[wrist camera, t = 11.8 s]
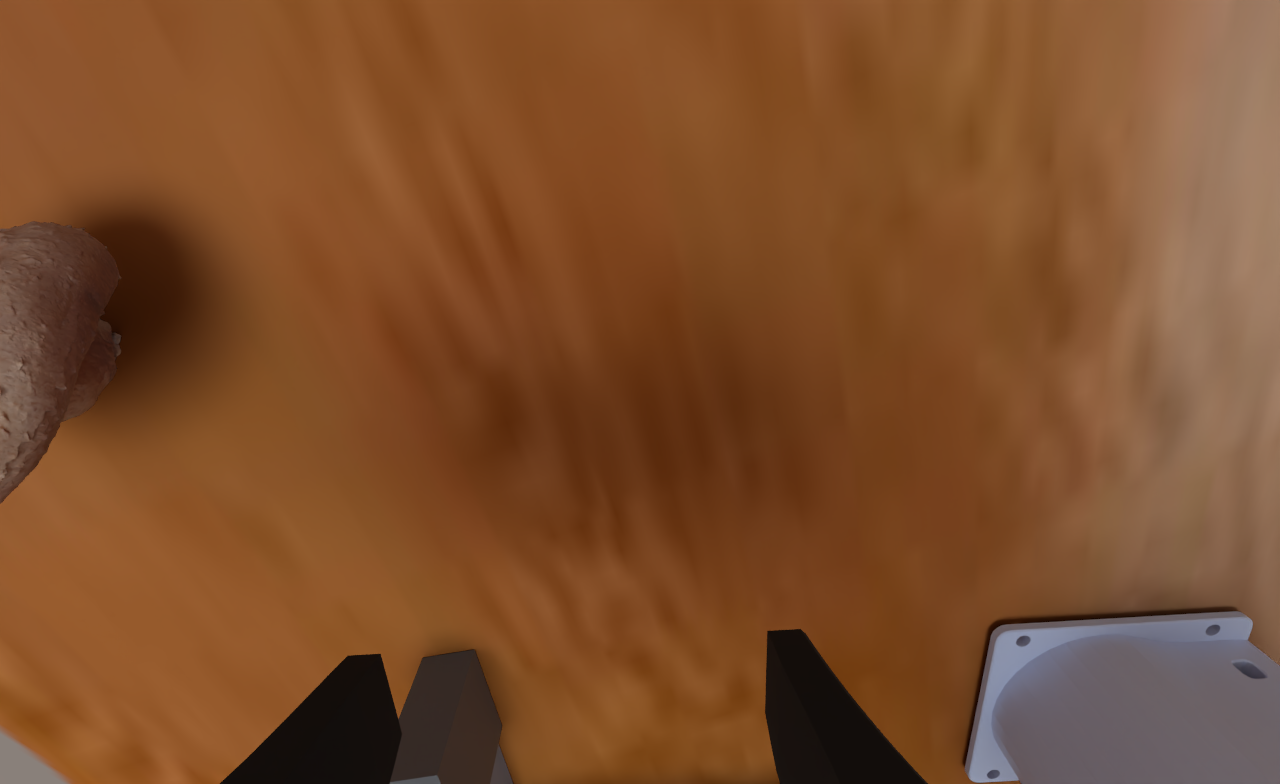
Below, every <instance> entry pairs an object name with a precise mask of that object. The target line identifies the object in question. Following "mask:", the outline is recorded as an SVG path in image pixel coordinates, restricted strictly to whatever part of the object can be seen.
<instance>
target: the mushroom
mask: <svg viewBox="0 0 1280 784" xmlns="http://www.w3.org/2000/svg"><path fill="white" fill-rule="evenodd" d="M84 230H85V228H72V226H71V225H68V226H61V225H59V224H55V223H52V222H51V223H45V222H44V223H40V222H35V221H33V222H30V223H27V224H24V225H22V226H18V227H17V226H15V227H12V228H10V229H0V503H2V502H3V501H4V499H5V498H6V497H7V496H8V495H9V494H10V493H11V492H12V491H13V490H14V489H15V488H17V487H18V485H19V484H20V483H21V482H22V481H23V480H24V479H25V477H26V476H27V475H29V473H30V472H31V471H32V470H33V469H34V468H35V467H36V466H37V465H38V463H39V461H40V460H41V458H42V456H43V455H44V454H45V453H46V452H47V450H48V447H49V444H50V443H51V441H52V439H53V438H54V437H55V435H56V433H57V430H58V429H59V427H60V423H61V422H62V421H66V420H68V419H70V418H73V417H77V416H79V415H81V414H82V413H84V412H85V411H87V410H89V409H90V408H91V407H92V406H93V405H94V404H95V402H96V401H97V399H98V396H99V395H100V393H101V392H102V390H103V389H104V388H105V386H106V385H107V384H108V383H109V382H110V381H111V380H112V379H113V377H114V375H115V373H116V371H117V370H116V369H117V367H116V364H115V360H116V358H117V356H118V355H120V354H121V349H120V346H119V345H118V344H119V342H120V339H121V335H119V334H117V333H116V332H113V333H112V331H111V326H110V324H109V323H108V322H105V321H103V320H101V319H99V318H100V316H101V315H104V314H105V312H104V309H105V307H106V305H107V303H108V302H109V300H110V298H111V296H112V294H113V293H114V290H115V288H116V287H117V286H118V280H119V279H122V278H121V277H120V274H119V271H118V268H117V266H116V261H115V260H114V258H113V257H112V255H111V254H110V253H109V252H108V250H107V249H106V248H107V246H104V245H103V244H102V243H100V242H99V241H98V240H97V239H96V238H94V237H92V236H91V235H90V233H86V232H85V231H84Z"/></svg>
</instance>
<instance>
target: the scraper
mask: <svg viewBox="0 0 1280 784" xmlns="http://www.w3.org/2000/svg"><path fill="white" fill-rule="evenodd" d="M399 724H400V728H401V732H402V737H401V741H400V745H399V749H398V753H397V757H396V761H395V765H394V769H393V773H392V776H391V780H390V784H513V782H512V779H511V776H510V774H509V771H508V768H507V766H506V763H505V760H504V757H503V755H502V752H501V749H500V747H499V739H500V734H501V730H502V724H501V721H500V719H499V716H498V713H497V710H496V708H495V705H494V702H493V699H492V696H491V694H490V691H489V688H488V685H487V683H486V680H485V677H484V674H483V672H482V669H481V666H480V663H479V661H478V658H477V655H476V652H475V650H469V651H462V652H456V653H450V654H444V655H437V656H431V657H425V658H422V661H421V664H420V666H419V669H418V671H417V674H416V676H415V679H414V681H413V684H412V686H411V689H410V692H409V694H408V697H407V699H406V702H405V704H404V707H403V709H402V712H401V715H400V717H399Z"/></svg>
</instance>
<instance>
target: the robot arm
mask: <svg viewBox="0 0 1280 784" xmlns="http://www.w3.org/2000/svg"><path fill="white" fill-rule="evenodd" d="M1252 627H1253V622H1252V620H1251V619H1250V618H1249V617H1247V616H1246V615H1245V614H1243V613H1242V612H1238V611H1230V612H1213V613H1196V614H1179V615H1161V616H1144V617H1127V618H1110V619H1092V620H1075V621H1058V622H1041V623H1023V624H1006V625H1001V626H999V627H997V628H996V629H995V630H994V631H993V633H992V635H991V638H990V643H989V649H988V654H987V659H986V664H985V669H984V674H983V679H982V684H981V689H980V694H979V699H978V704H977V709H976V714H975V719H974V724H973V729H972V734H971V739H970V744H969V749H968V754H967V759H966V764H965V772H966V774H967V775H968V777H969V779H970V780H971V781H973V782H978V783H982V782H999V781H1016V780H1019V781H1020V782H1021V784H1280V666H1279V665H1278V664H1277V663H1275V662H1274V661H1273V660H1272V659H1270V658H1269V657H1268V656H1267V655H1265V654H1264V653H1263V652H1262V651H1260V650H1259V649H1258V648H1257V647H1255V646H1254V645H1253V644H1252V643H1250V642H1249V641H1248V638H1249V635H1250V633H1251V630H1252ZM1021 636H1022V637H1021ZM1019 637H1020V638H1019ZM765 714H766V719H767V725H768V730H769V735H770V740H771V746H772V751H773V756H774V761H775V766H776V771H777V774H778V778H779V781H780V784H928V783H927V782H926V781H925V780H924V779H923V778H922V777H921V776H920V775H919V774H918V773H917V772H916V771H915V770H914V769H913V767H912V766H911V765H910V764H909V763H908V762H907V761H906V760H905V759H904V758H903V757H902V755H901V754H900V753H899V752H898V751H897V750H896V749H895V748H894V747H893V745H892V744H891V743H890V742H889V741H888V740H887V739H886V737H885V736H884V735H883V734H882V733H881V732H880V730H879V729H878V728H877V727H876V726H875V724H874V723H873V722H872V721H871V720H870V718H869V717H868V716H867V715H866V714H865V712H864V711H863V710H862V709H861V708H860V706H859V705H858V704H857V703H856V701H855V700H854V699H853V698H852V696H851V695H850V694H849V693H848V691H847V690H846V689H845V687H844V686H843V685H842V684H841V682H840V681H839V680H838V678H837V677H836V676H835V674H834V673H833V672H832V670H831V669H830V668H829V666H828V665H827V664H826V662H825V661H824V659H823V658H822V657H821V655H820V654H819V652H818V651H817V650H816V648H815V647H814V645H813V644H812V642H811V641H810V639H809V638H808V636H807V635H806V634H805V633H804V632H803V631H802V630H801V629H795V630H778V631H767V667H766V704H765ZM401 737H402V732H401V728H400V724H399V720H398V717H397V713H396V709H395V706H394V702H393V698H392V695H391V691H390V687H389V683H388V680H387V676H386V672H385V669H384V665H383V661H382V658H381V654H370V655H353V656H347V657H346V658H345V659H344V660H343V661H342V662H341V663H340V664H339V665H338V666H337V667H336V668H335V669H334V670H333V671H332V672H331V673H330V674H329V675H328V676H327V677H326V678H325V679H324V681H323V682H322V683H321V684H320V685H319V686H318V687H317V688H316V689H315V690H314V691H313V692H312V693H311V694H310V695H309V696H308V697H307V698H306V699H305V700H304V701H303V702H302V703H301V704H300V705H299V706H298V707H297V708H296V709H295V710H294V711H293V712H292V713H291V714H290V716H289V717H288V718H287V719H286V720H285V721H284V722H283V723H282V724H281V725H280V726H279V727H278V728H277V729H276V730H275V731H274V732H273V733H272V734H271V735H270V736H269V737H268V738H267V739H266V740H265V741H264V742H263V743H262V744H261V745H260V746H259V747H258V748H257V749H256V750H255V751H254V752H253V753H252V754H251V755H250V756H249V757H248V758H247V759H246V760H245V761H244V762H242V763H241V764H240V765H239V766H238V767H237V768H236V769H235V770H234V771H233V772H232V773H231V774H230V775H229V776H228V777H226V778H225V779H224V780H223V781H222V782H221V783H220V784H390V780H391V776H392V773H393V769H394V765H395V761H396V757H397V753H398V749H399V745H400V741H401Z"/></svg>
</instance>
